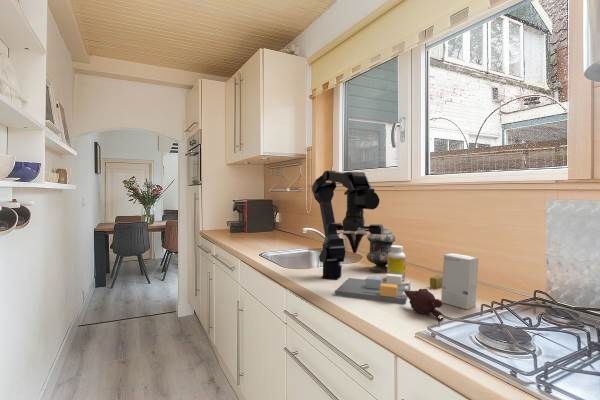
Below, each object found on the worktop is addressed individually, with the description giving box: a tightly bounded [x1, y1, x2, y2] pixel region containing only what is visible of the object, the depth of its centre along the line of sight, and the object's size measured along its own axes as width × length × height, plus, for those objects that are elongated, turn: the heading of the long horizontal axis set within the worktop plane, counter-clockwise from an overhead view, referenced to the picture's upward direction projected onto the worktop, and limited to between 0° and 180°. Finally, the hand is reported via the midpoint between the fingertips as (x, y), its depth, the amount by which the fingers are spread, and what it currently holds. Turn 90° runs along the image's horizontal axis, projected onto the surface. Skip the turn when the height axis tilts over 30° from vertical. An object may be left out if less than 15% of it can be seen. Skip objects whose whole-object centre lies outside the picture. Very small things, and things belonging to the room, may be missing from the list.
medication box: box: [429, 273, 443, 290], centre depth 123 cm, size 12×3×4 cm, turn 128°
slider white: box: [385, 273, 403, 286], centre depth 119 cm, size 5×4×3 cm
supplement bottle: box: [387, 244, 406, 282], centre depth 131 cm, size 7×7×13 cm
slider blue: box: [365, 276, 383, 289], centre depth 115 cm, size 5×4×3 cm
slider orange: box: [380, 283, 398, 297], centre depth 106 cm, size 5×4×3 cm
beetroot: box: [404, 288, 444, 321], centre depth 95 cm, size 7×7×15 cm
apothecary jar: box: [366, 227, 396, 274], centre depth 146 cm, size 12×12×18 cm
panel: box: [334, 277, 411, 305], centre depth 115 cm, size 22×18×3 cm
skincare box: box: [440, 253, 479, 310], centre depth 102 cm, size 8×6×15 cm
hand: (354, 252), depth 118 cm, fingers closed
